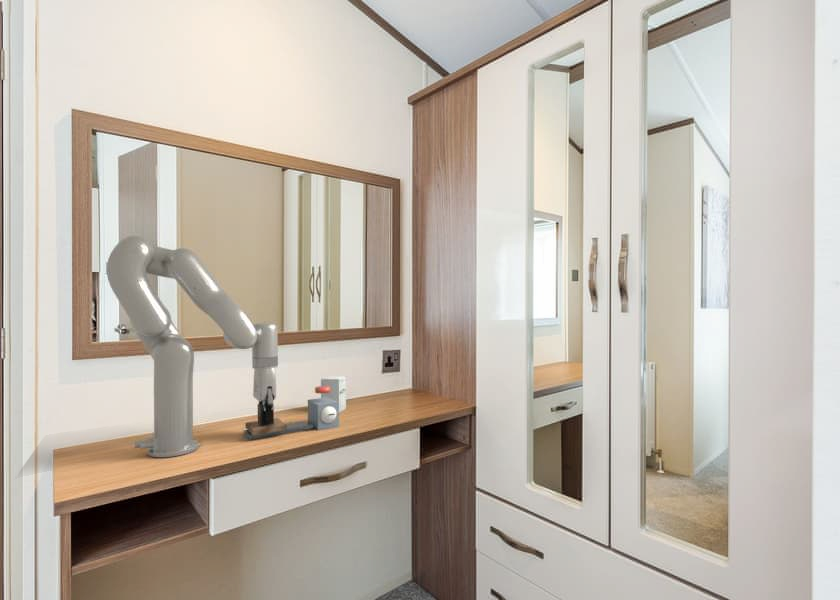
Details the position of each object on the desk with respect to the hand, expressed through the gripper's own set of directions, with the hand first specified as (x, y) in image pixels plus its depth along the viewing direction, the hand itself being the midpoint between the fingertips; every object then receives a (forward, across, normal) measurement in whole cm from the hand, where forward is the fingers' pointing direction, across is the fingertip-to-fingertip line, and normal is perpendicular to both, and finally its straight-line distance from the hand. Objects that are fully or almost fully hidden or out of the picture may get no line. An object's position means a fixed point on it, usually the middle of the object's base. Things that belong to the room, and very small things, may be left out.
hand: (265, 421), depth 138 cm
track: (+4, 0, +4) cm, 6 cm away
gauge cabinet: (+4, 0, +18) cm, 19 cm away
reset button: (-7, 0, +18) cm, 20 cm away
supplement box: (+4, -17, +29) cm, 34 cm away
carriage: (+2, 0, 0) cm, 2 cm away
